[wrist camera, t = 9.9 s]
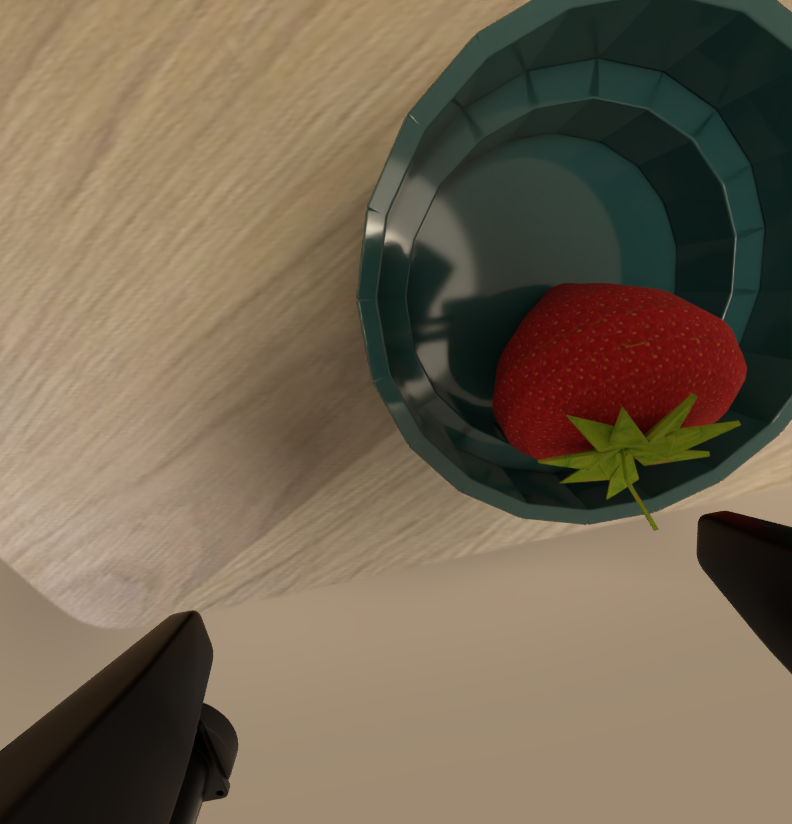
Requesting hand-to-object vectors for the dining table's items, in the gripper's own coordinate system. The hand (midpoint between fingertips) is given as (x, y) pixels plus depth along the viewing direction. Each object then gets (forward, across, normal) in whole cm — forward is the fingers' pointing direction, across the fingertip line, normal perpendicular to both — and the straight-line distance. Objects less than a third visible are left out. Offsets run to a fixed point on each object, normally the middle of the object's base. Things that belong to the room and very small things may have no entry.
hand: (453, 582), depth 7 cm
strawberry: (+11, -7, -4) cm, 14 cm away
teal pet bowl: (+12, -7, -4) cm, 15 cm away
